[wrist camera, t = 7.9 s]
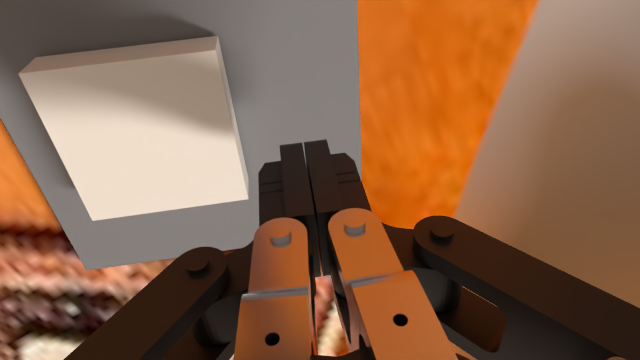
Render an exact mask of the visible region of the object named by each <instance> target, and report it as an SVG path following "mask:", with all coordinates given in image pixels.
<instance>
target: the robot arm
mask: <svg viewBox="0 0 640 360" xmlns="http://www.w3.org/2000/svg"><path fill="white" fill-rule="evenodd" d="M279 146H280V157H281V161H275V162H267V163H264V165H263V166H262V168H261V170H260V171H259V173H258V184H259V228H258V229H257V231H256V232H255V234H254V240H253V241H252V242H251V243H249V244H248V245H247V246H245V247H244V248H242V249H240V250H237V251H235V252H232V253H230V254H227V255H225V254H224V253H223V252H222V251H221V250H219V249H217V248H214V247H198V248H194V249H191V250H189V251H186V252H185V253H183V254H182V255H180V256H179V257H178V258H177V259H176V260H174V261H173V262H172V263H171V264H170V265H169V266H168V267H167V268H165V269H164V270H163V271H162V272H161V273H160V274H159V275H158V276H157V277H155V278H154V279H153V280H152V281H151V282H150V283H149V284H148V285H146V286H145V287H144V288H143V289H142V290H141V291H140V292H139V293H138V294H136V295H135V296H134V297H133V298H132V299H131V300H130V301H129V302H127V303H126V304H125V305H124V306H123V307H122V308H121V309H120V310H119V311H117V312H116V313H115V314H114V315H113V316H112V317H111V318H110V319H108V320H107V321H106V322H105V323H104V324H103V325H102V326H101V327H100V328H98V329H97V330H96V331H95V332H94V333H93V334H92V335H91V336H89V337H88V338H87V339H86V340H85V341H84V342H83V343H82V344H81V345H79V346H78V347H77V348H76V349H75V350H74V351H73V352H72V353H70V354H69V355H68V356H67V357H66V358H65V359H64V360H229V359H230V358H231V357H232V356H233V354H234V360H469V359H468V358H466V357H464V356H461V355H459V354H457V353H455V352H454V350H453V348H452V346H451V344H450V342H449V341H451V342H452V343H454V344H455V345H457V346H458V347H460V348H461V349H463V350H464V351H466V352H467V353H469V354H470V355H472V356H473V357H475V358H476V359H478V360H640V308H638V307H636V306H634V305H632V304H630V303H628V302H625V301H623V300H621V299H619V298H617V297H615V296H613V295H611V294H609V293H607V292H605V291H602V290H601V289H598V288H597V287H595V286H592V285H590V284H588V283H586V282H584V281H582V280H580V279H578V278H576V277H574V276H572V275H570V274H568V273H566V272H563V271H561V270H559V269H557V268H555V267H553V266H551V265H549V264H547V263H545V262H543V261H541V260H539V259H536V258H534V257H532V256H530V255H528V254H526V253H524V252H522V251H520V250H518V249H516V248H514V247H512V246H509V245H508V244H506V243H503V242H501V241H499V240H497V239H495V238H493V237H491V236H489V235H487V234H485V233H483V232H481V231H479V230H477V229H474V228H472V227H470V226H468V225H466V224H464V223H462V222H460V221H458V220H456V219H453V218H450V217H446V216H430V217H427V218H424V219H422V220H420V221H419V222H418V223H417V224H416V225H415V227H414V229H404V228H396V227H392V226H389V225H386V224H384V223H382V222H381V221H380V219H379V218H378V216H377V215H375V214H374V213H373V212H372V211H371V208H370V205H369V202H368V199H367V196H366V193H365V190H364V187H363V184H362V181H361V179H360V176H359V173H358V170H357V167H356V164H355V161H354V160H353V159H352V158H351V157H350V156H348V155H347V154H346V153H337V154H330V150H329V146H328V143H327V139H324V140H316V141H308V142H304V150H305V156H304V151H303V145H302V142H301V143H293V144H285V145H279ZM305 159H306V162H305ZM317 242H318V243H317ZM318 248H319V252H318ZM319 254H320V260H321V265H322V271H323V276H325V275H331V278H332V283H333V294H334V300H335V304H336V307H337V311H338V314H339V318H340V321H341V325H342V328H343V332H344V336H345V339H346V343H347V346H348V350H349V353H348V354H346V355H343V356H339V357H332V356H321V355H318V345H317V324H316V304H315V295H316V282H315V277H319V276H321V272H320V262H319ZM462 286H464V287H465V288H467V289H469V290H470V291H472V292H474V293H476V294H478V295H479V296H481V297H483V298H484V299H486V300H488V301H489V302H491V303H493V304H495V305H496V306H498V307H499V308H500V309H499V308H498V307H496V306H494V305H493V304H491V303H489V302H487V301H486V300H484V299H482V298H481V297H479V296H477V295H475V294H473V293H472V292H470V291H468V290H467V289H465V288H463V287H462Z"/></svg>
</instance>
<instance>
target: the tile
mask: <svg viewBox="0 0 640 360" xmlns="http://www.w3.org/2000/svg"><path fill="white" fill-rule="evenodd" d="M18 74H19V76H20V78H21V80H22V82H23V84H24V86H25V88H26V90H27V92H28V94H29V96H30V98H31V100H32V102H33V104H34V106H35V108H36V110H37V112H38V114H39V116H40V118H41V120H42V122H43V124H44V126H45V128H46V130H47V132H48V134H49V136H50V138H51V140H52V142H53V144H54V146H55V148H56V150H57V152H58V154H59V156H60V158H61V160H62V162H63V164H64V166H65V167H66V169H67V171H68V173H69V175H70V177H71V179H72V181H73V183H74V185H75V187H76V189H77V191H78V193H79V195H80V197H81V199H82V201H83V203H84V205H85V207H86V209H87V211H88V213H89V215H90V217H91V219H92V221H96V220H103V219H110V218H118V217H125V216H132V215H139V214H146V213H153V212H161V211H168V210H175V209H182V208H189V207H196V206H203V205H211V204H218V203H225V202H232V201H239V200H246V199H248V174H247V170H246V165H245V160H244V156H243V151H242V146H241V141H240V137H239V132H238V127H237V123H236V118H235V113H234V109H233V104H232V99H231V95H230V90H229V85H228V81H227V76H226V71H225V66H224V62H223V57H222V52H221V48H220V43H219V38H218V36H211V37H203V38H194V39H186V40H177V41H169V42H160V43H152V44H144V45H135V46H127V47H118V48H110V49H101V50H93V51H84V52H76V53H67V54H59V55H50V56H42V57H36V58H34V59H33V60H32V61H31V62H30V63H29V64H28V65H27V66H26V67H25V68H24V69H23V70H22V71H21V72H19V73H18Z"/></svg>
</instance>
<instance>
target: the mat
mask: <svg viewBox="0 0 640 360" xmlns="http://www.w3.org/2000/svg"><path fill="white" fill-rule="evenodd" d="M211 36H218V38H219V43H220V48H221V52H222V57H223V62H224V66H225V71H226V76H227V81H228V85H229V90H230V95H231V99H232V104H233V109H234V113H235V118H236V123H237V127H238V132H239V137H240V141H241V146H242V151H243V156H244V160H245V165H246V170H247V174H248V199H246V200H239V201H232V202H225V203H218V204H211V205H203V206H196V207H189V208H182V209H175V210H168V211H161V212H153V213H146V214H139V215H132V216H125V217H118V218H110V219H103V220H96V221H92V219H91V217H90V215H89V213H88V211H87V209H86V207H85V205H84V203H83V201H82V199H81V197H80V195H79V193H78V191H77V189H76V187H75V185H74V183H73V181H72V179H71V177H70V175H69V173H68V171H67V169H66V167H65V166H64V164H63V162H62V160H61V158H60V156H59V154H58V152H57V150H56V148H55V146H54V144H53V142H52V140H51V138H50V136H49V134H48V132H47V130H46V128H45V126H44V124H43V122H42V120H41V118H40V116H39V114H38V112H37V110H36V108H35V106H34V104H33V102H32V100H31V98H30V96H29V94H28V92H27V90H26V88H25V86H24V84H23V82H22V80H21V78H20V76H19V74H18V73H19V72H21V71H22V70H23V69H24V68H25V67H26V66H27V65H28V64H29V63H30V62H31V61H32V60H33V59H34V58H36V57H42V56H50V55H59V54H67V53H76V52H84V51H93V50H101V49H110V48H118V47H127V46H135V45H144V44H152V43H160V42H169V41H177V40H186V39H194V38H203V37H211ZM0 118H1V120H2V122H3V123H4V125H5V127H6V129H7V131H8V132H9V134H10V136H11V138H12V139H13V141H14V143H15V145H16V146H17V148H18V150H19V152H20V154H21V155H22V157H23V159H24V161H25V162H26V164H27V166H28V168H29V169H30V171H31V173H32V175H33V177H34V178H35V180H36V182H37V184H38V185H39V187H40V189H41V191H42V192H43V194H44V196H45V198H46V200H47V201H48V203H49V205H50V207H51V208H52V210H53V212H54V214H55V215H56V217H57V219H58V221H59V223H60V224H61V226H62V228H63V230H64V231H65V233H66V235H67V237H68V238H69V240H70V242H71V244H72V246H73V247H74V249H75V251H76V253H77V254H78V256H79V258H80V260H81V261H82V263H83V265H84V267H85V269H86V270H94V269H100V268H107V267H114V266H121V265H128V264H135V263H142V262H148V261H155V260H162V259H169V258H176V257H179V256H180V255H182V254H183V253H185V252H186V251H189V250H191V249H194V248H198V247H214V248H217V249H219V250H221V251H224V250H231V249H238V248H244V247H245V246H247V245H248V244H249V243H251V242H252V241H253V240H254V234H255V232H256V231H257V229H258V228H259V184H258V173H259V171H260V170H261V168H262V166H263V165H264V163H267V162H275V161H281V157H280V146H279V145H285V144H293V143H301V142H302V145H303V151H304V156H305V150H304V142H308V141H316V140H324V139H327V143H328V146H329V150H330V154H337V153H346V154H347V155H348V156H350V157H351V158H352V159H353V160H354V161H355V164H356V167H357V170H358V173H359V176H360V179H361V181H362V171H361V133H360V96H359V59H358V21H357V0H0ZM305 162H306V159H305Z"/></svg>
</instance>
